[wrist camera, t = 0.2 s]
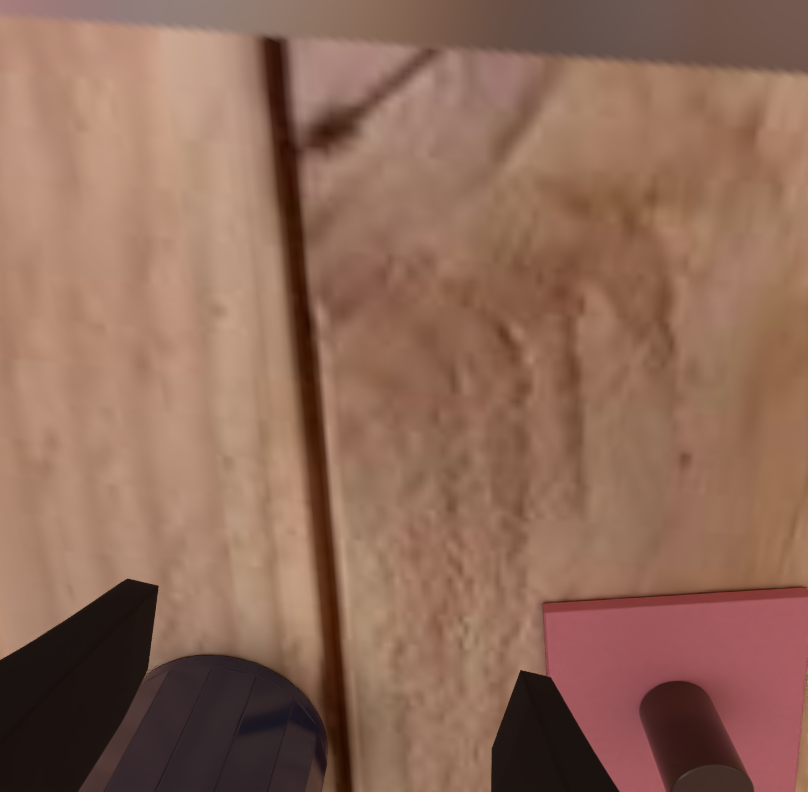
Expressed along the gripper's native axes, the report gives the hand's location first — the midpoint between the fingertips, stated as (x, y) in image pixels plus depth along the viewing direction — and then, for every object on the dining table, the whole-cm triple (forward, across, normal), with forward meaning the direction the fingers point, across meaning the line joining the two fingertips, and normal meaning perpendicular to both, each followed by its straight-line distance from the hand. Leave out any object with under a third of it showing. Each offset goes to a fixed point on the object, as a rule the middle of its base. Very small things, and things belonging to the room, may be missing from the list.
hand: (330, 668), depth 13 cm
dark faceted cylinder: (+10, +3, +14) cm, 17 cm away
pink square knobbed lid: (+10, -13, +7) cm, 18 cm away
